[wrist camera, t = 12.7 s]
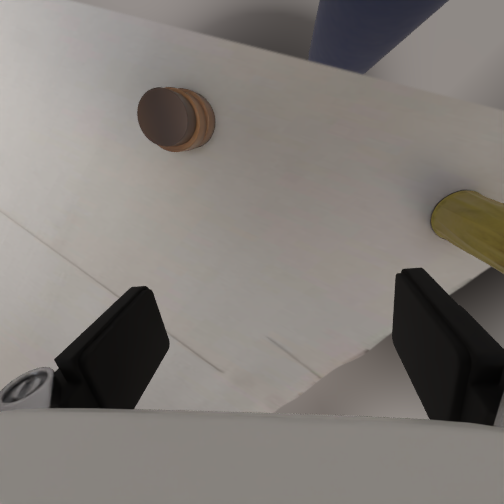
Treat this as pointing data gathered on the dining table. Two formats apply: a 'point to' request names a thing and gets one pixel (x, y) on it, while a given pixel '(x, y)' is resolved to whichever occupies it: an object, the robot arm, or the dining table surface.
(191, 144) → the pile chip top
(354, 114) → the dining table surface
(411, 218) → the dining table surface
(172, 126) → the walnut chip
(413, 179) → the dining table surface
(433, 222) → the vase
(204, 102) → the pile chip bottom
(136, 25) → the dining table surface
